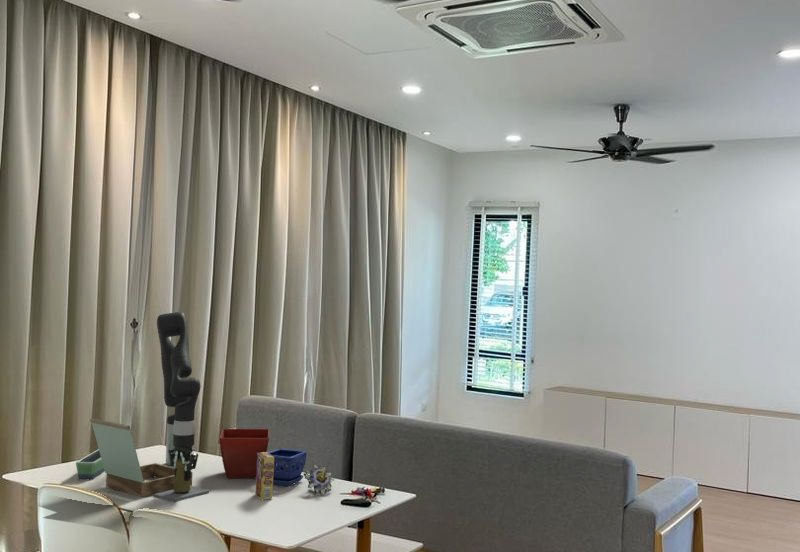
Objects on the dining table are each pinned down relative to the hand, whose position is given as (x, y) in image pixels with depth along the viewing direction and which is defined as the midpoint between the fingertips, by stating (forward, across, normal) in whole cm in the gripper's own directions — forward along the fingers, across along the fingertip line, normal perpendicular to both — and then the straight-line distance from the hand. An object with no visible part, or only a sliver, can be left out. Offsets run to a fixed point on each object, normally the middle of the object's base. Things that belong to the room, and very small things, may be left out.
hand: (182, 479), depth 278 cm
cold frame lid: (-10, +18, +14) cm, 26 cm away
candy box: (+6, -25, -17) cm, 30 cm away
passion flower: (+6, -35, -35) cm, 49 cm away
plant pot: (+6, +4, -35) cm, 36 cm away
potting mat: (+5, 0, 0) cm, 5 cm away
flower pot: (+6, -17, -36) cm, 40 cm away
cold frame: (+6, +18, 0) cm, 19 cm away
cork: (+4, 0, 0) cm, 4 cm away
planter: (+6, +52, 0) cm, 52 cm away
